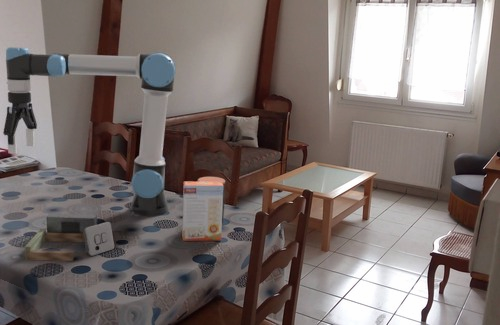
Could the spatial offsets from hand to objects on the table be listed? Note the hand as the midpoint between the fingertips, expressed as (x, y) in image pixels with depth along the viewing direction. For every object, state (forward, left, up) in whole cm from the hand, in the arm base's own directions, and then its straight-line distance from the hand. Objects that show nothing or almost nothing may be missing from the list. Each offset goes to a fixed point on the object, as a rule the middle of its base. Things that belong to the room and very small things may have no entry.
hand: (21, 149), depth 189 cm
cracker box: (-67, +14, -27) cm, 74 cm away
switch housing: (-22, +17, -27) cm, 39 cm away
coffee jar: (-70, -1, -27) cm, 75 cm away
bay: (-20, +28, -27) cm, 44 cm away
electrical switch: (-33, +28, -27) cm, 51 cm away
